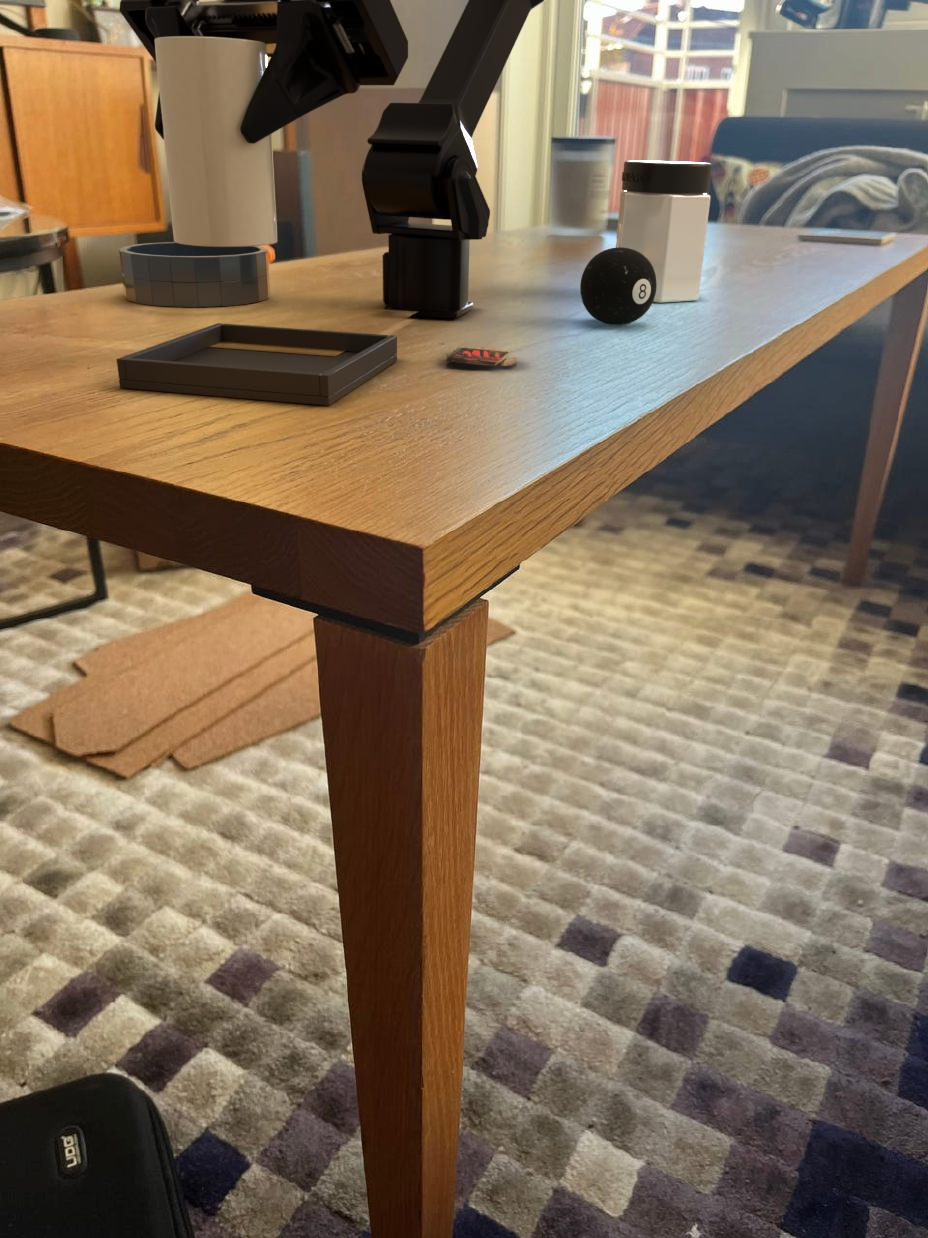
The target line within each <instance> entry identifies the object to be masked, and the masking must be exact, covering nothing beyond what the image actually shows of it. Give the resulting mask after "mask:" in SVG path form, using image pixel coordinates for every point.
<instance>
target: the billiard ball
mask: <svg viewBox="0 0 928 1238" xmlns="http://www.w3.org/2000/svg"><path fill="white" fill-rule="evenodd" d="M656 287H657V281H656V275H655V271H654V268H653V266H652V264H651V263H650V261H649V260H648V259H647V258H646V257H645V256H644V255H643V254H641V253H640V252H638V251H636V250H633V249H629V248H623V247H617V248H616V247H611V248H607V249H604V250H602V251H600V252H599V253H597V254H595V255H594V256H593V257H592V258H591V259H590V260H589V261H588V263H587V264H586V265H585V267H584V270H583V272H582V274H581V278H580V283H579V290H580V297H581V302H582V304H583V306H584V308H585V310H586V311H587V313H588V314H589V315H590V316H591V317H592V318H593V319H595V320H596V321H598V322H600V323H603V324H606V325H610V326H611V325H612V326H624V325H628V324H631V323H634V322H636V321H638V320H639V319H642V317H643V316H645V314H646V313H647V312H648V311H649V310H650V308H651V306H652V304H653V303H654V302H653V300H654V297H655V294H656Z"/></svg>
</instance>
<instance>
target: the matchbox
mask: <svg viewBox="0 0 928 1238" xmlns="http://www.w3.org/2000/svg"><path fill="white" fill-rule="evenodd" d="M509 354H512V350H501V349H495V348H492V349H491V348H486V347H468V346H467V347H465V346H463V347H462V346H457V347H456V349H453V351H451V352H450V353H449V354H446V362H450V363H457V364H459V363H460V364H467V365H468V364H469V365H477V366H496V365H497V366H502V367H508V366H509V367H510V366H516V365H517V363H518V360H517V359H516V357H515V358H514V357H512V358H509V356H510V355H509ZM501 362H502V364H500V365H499V363H501ZM463 367H464V366H463V365H461V368H463Z"/></svg>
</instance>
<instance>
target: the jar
mask: <svg viewBox="0 0 928 1238" xmlns="http://www.w3.org/2000/svg"><path fill="white" fill-rule="evenodd" d="M712 171H713V164H712V163H710V162H698V161H675V160H674V161H673V160H672V161H671V160H625V161H624V162H623V170H622V173H621V191H620V195H619V208H618V219H617V220H618V221H617V228H616V241H615V242H616V243H615V248H617V247H623V248H629V249H633V250H636V251H638V252H640V253H641V254H643V255H644V256H645V257H646V258H647V259H648V260H649V261H650V263H651V264H652V266H653V268H654V271H655V275H656V281H657V287H656V294H655V297H654V300H653V303H662V304H663V303H677V302H693V301H694V302H695V301H697V300H699V298H700V297H699V296H700V288H701V282H702V281H701V280H702V271H703V263H704V255H705V246H706V245H705V244H706V239H707V232H708V231H707V230H708V222H709V214H710V206H711V199H712V197H711V195H710V194H709V193H710V186H711V176H712Z"/></svg>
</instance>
